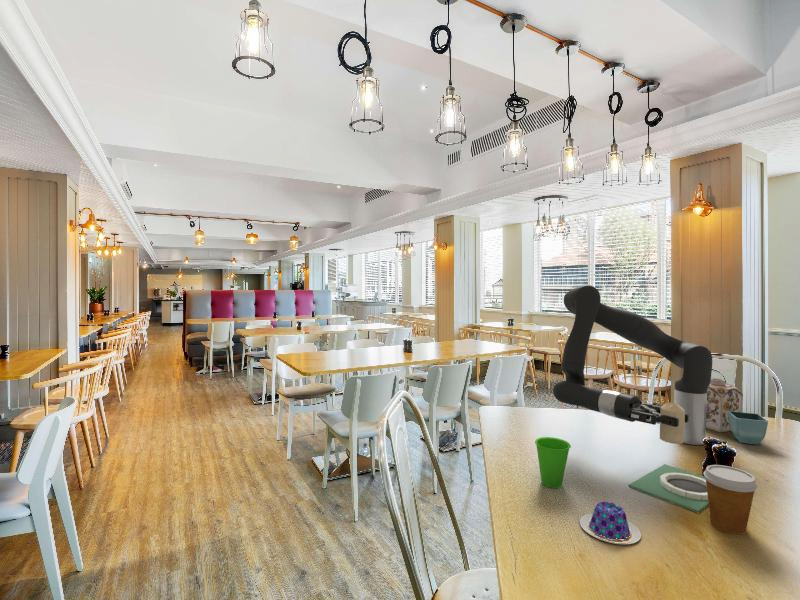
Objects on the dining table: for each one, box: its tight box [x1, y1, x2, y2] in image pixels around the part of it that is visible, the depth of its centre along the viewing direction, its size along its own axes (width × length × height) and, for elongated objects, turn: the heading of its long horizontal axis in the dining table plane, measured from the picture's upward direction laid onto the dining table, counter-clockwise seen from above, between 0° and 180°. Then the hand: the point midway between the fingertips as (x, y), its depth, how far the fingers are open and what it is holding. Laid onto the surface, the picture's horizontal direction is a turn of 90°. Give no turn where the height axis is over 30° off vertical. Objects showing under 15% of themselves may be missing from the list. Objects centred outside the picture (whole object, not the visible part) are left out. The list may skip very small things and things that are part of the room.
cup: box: [534, 436, 572, 489], centre depth 115 cm, size 9×9×11 cm
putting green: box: [628, 463, 709, 514], centre depth 114 cm, size 22×16×2 cm
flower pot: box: [728, 411, 769, 446], centre depth 147 cm, size 9×9×9 cm
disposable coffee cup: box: [703, 464, 759, 535], centre depth 95 cm, size 10×10×12 cm
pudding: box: [579, 501, 642, 545], centre depth 94 cm, size 12×12×5 cm
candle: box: [659, 401, 685, 445], centre depth 115 cm, size 6×6×10 cm
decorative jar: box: [706, 377, 744, 433], centre depth 162 cm, size 12×12×18 cm
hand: (683, 420), depth 113 cm, fingers closed on candle, 5 cm apart
